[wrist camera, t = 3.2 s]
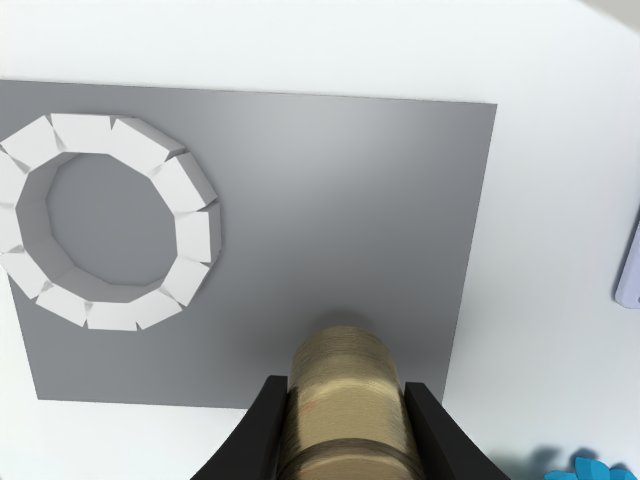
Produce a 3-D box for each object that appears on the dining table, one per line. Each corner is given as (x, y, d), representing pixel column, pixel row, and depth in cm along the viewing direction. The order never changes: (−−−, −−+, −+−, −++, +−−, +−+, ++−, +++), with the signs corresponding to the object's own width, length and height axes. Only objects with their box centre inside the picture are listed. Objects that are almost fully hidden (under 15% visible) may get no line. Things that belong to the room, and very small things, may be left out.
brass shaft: (400, 328, 14) (452, 480, 8) (388, 415, 15) (426, 598, 9) (292, 323, 14) (267, 471, 8) (289, 410, 15) (267, 590, 9)
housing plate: (486, 104, 14) (518, 103, 12) (433, 402, 19) (448, 444, 16) (-16, 80, 14) (-85, 73, 12) (52, 384, 19) (12, 424, 16)
